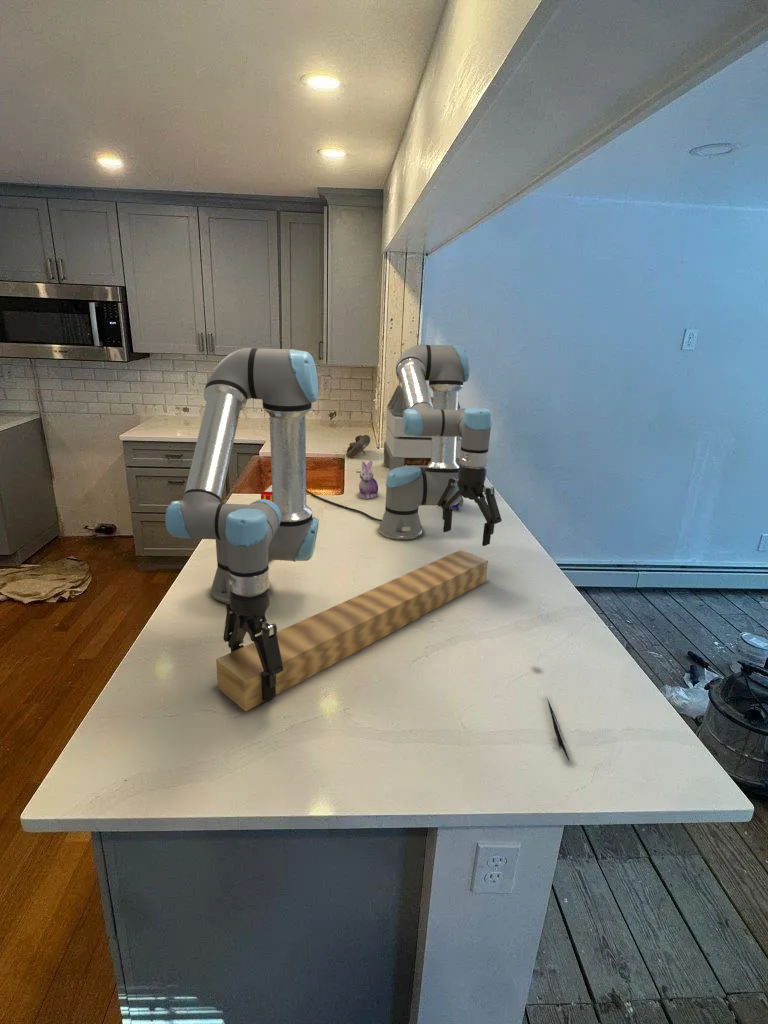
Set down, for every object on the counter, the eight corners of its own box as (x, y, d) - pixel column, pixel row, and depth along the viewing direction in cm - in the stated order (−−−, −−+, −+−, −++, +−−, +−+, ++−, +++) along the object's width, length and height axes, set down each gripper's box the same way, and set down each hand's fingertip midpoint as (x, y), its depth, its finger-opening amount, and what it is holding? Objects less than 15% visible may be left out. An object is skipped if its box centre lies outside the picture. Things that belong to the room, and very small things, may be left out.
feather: (537, 674, 127) (543, 668, 127) (569, 765, 101) (576, 758, 100) (531, 670, 127) (536, 664, 126) (561, 760, 100) (568, 753, 100)
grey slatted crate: (382, 463, 289) (386, 382, 275) (445, 464, 293) (451, 384, 279) (390, 482, 257) (394, 392, 243) (460, 483, 261) (468, 394, 247)
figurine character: (463, 515, 225) (458, 499, 238) (465, 497, 221) (460, 482, 235) (446, 514, 224) (442, 498, 238) (448, 497, 221) (444, 482, 235)
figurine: (363, 500, 232) (364, 465, 227) (352, 493, 240) (353, 459, 235) (383, 498, 236) (385, 463, 231) (372, 491, 244) (373, 457, 239)
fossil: (346, 440, 314) (367, 425, 309) (357, 454, 317) (378, 439, 312) (340, 454, 295) (362, 438, 290) (351, 468, 298) (374, 453, 293)
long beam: (458, 570, 174) (460, 549, 171) (485, 581, 167) (488, 560, 165) (217, 688, 116) (215, 659, 114) (245, 711, 110) (244, 681, 108)
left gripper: (201, 575, 114) (208, 669, 121) (268, 618, 99) (271, 721, 107) (233, 564, 119) (238, 655, 126) (301, 603, 104) (302, 703, 112)
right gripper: (428, 458, 160) (423, 528, 167) (504, 477, 144) (495, 554, 151) (445, 455, 166) (439, 523, 173) (520, 473, 150) (510, 547, 157)
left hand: (253, 685), depth 117 cm, fingers closed on long beam, 10 cm apart
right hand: (465, 537), depth 162 cm, fingers open, 13 cm apart
